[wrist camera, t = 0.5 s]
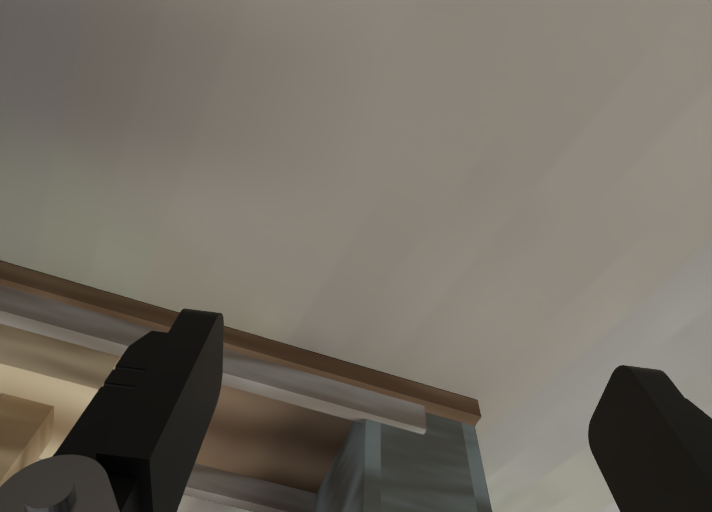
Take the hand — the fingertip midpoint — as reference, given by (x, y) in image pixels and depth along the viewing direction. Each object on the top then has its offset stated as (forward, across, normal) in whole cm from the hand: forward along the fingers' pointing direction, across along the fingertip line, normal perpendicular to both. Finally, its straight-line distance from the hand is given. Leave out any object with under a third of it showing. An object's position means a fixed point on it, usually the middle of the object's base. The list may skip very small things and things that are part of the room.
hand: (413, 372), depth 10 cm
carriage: (+18, +19, +19) cm, 32 cm away
